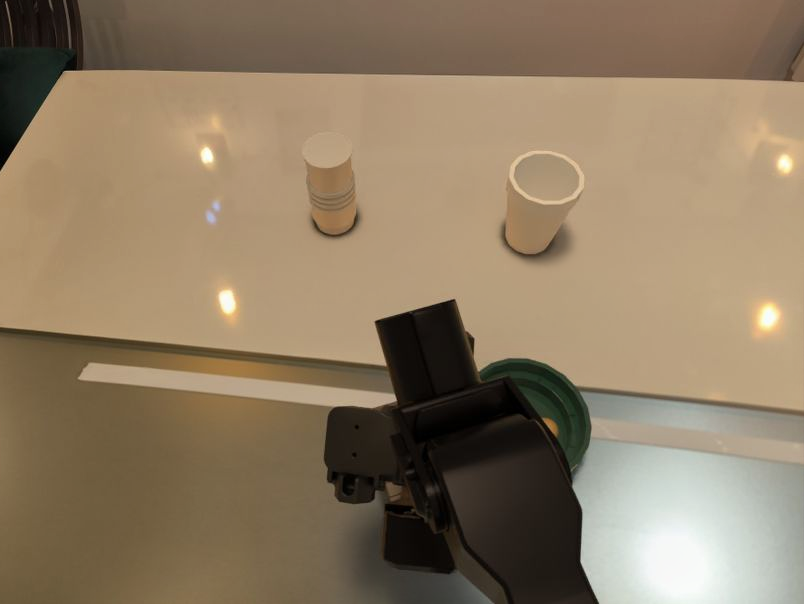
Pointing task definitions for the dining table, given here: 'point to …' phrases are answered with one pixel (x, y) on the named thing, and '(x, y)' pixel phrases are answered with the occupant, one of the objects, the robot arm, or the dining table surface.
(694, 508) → the dining table surface
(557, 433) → the bead
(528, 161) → the foam cup
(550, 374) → the bowl
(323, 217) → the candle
